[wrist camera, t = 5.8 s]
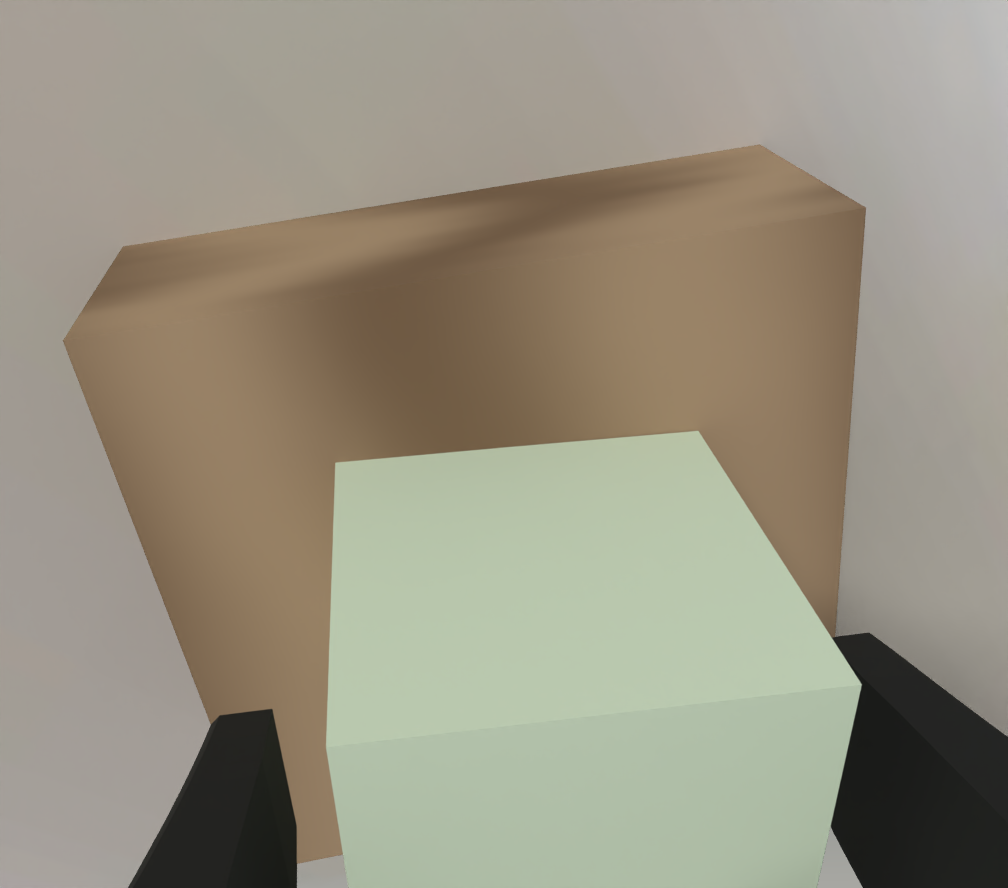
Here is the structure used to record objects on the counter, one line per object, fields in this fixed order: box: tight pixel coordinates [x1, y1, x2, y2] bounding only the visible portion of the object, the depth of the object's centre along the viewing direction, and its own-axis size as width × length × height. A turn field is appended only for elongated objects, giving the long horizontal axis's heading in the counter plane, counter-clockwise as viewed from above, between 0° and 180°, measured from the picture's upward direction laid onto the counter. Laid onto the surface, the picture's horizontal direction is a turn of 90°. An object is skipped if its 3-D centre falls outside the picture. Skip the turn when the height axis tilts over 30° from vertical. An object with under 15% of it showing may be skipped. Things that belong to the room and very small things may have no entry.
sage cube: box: [326, 431, 862, 888], centre depth 12 cm, size 5×5×5 cm
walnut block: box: [63, 145, 866, 864], centre depth 16 cm, size 10×10×4 cm
